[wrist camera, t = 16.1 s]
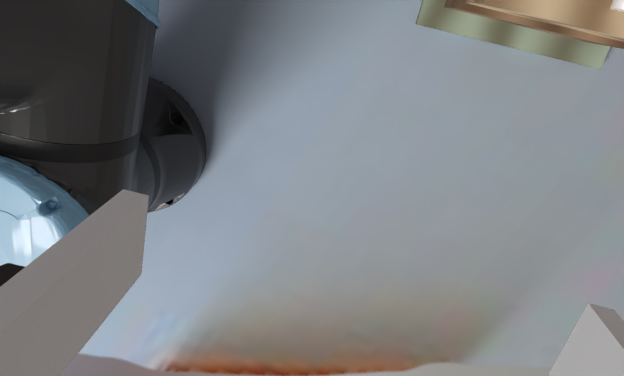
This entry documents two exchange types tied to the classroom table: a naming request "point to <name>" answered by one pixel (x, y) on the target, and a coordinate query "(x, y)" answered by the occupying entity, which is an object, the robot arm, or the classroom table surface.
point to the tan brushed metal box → (533, 25)
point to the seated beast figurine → (617, 5)
